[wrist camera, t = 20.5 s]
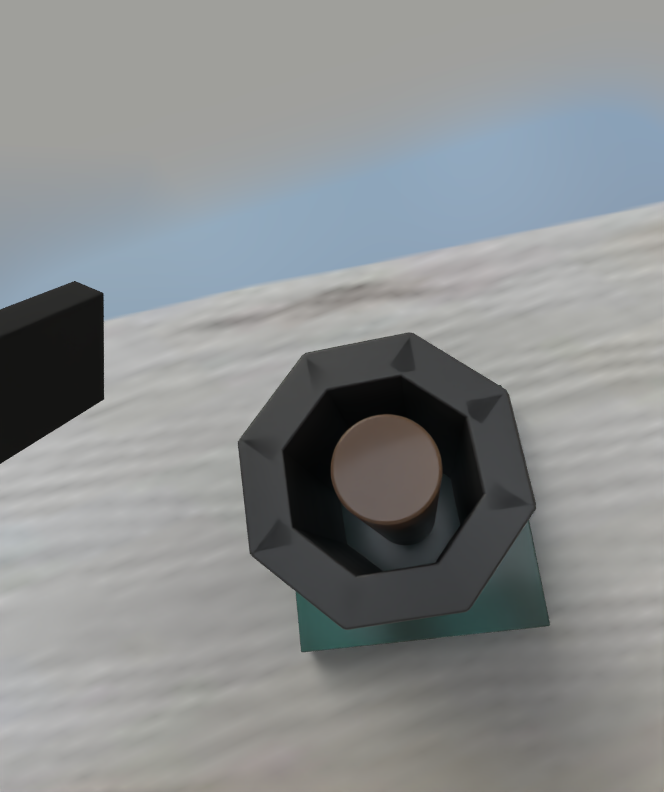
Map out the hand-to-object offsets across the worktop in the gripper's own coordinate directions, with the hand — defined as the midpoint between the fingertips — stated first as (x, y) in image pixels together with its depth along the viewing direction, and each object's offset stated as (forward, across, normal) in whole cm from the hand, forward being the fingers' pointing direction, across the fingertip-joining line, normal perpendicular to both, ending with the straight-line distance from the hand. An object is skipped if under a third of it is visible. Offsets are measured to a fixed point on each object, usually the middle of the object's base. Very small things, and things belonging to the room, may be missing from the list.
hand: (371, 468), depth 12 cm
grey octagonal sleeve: (+11, 0, -10) cm, 15 cm away
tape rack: (+12, 0, -11) cm, 16 cm away
